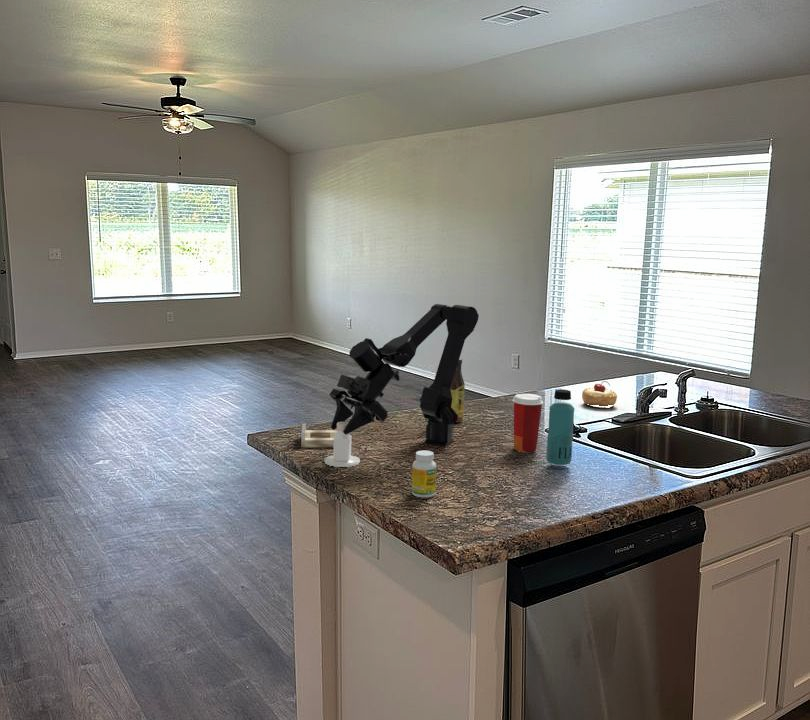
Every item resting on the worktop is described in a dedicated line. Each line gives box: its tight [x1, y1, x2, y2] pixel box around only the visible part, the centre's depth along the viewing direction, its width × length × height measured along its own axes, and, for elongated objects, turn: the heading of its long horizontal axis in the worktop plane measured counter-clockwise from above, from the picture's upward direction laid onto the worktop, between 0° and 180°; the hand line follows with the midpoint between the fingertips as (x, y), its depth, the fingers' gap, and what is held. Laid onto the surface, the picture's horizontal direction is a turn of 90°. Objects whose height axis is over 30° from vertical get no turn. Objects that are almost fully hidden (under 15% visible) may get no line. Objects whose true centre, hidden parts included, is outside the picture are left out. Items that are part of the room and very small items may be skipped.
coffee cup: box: [511, 393, 544, 453], centre depth 200 cm, size 8×8×15 cm
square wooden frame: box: [300, 423, 337, 448], centre depth 202 cm, size 10×10×4 cm
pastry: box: [581, 380, 618, 406], centre depth 257 cm, size 12×12×9 cm
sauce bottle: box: [450, 357, 466, 424], centre depth 228 cm, size 7×6×20 cm
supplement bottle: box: [411, 450, 437, 499], centre depth 164 cm, size 5×5×10 cm
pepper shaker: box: [333, 421, 352, 462], centre depth 184 cm, size 4×4×10 cm
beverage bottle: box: [545, 388, 575, 466], centre depth 185 cm, size 6×7×20 cm
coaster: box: [323, 454, 361, 468], centre depth 185 cm, size 9×9×1 cm
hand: (338, 431), depth 183 cm, fingers open, 5 cm apart
